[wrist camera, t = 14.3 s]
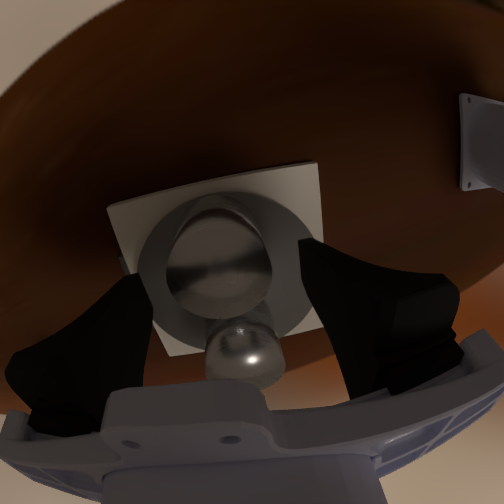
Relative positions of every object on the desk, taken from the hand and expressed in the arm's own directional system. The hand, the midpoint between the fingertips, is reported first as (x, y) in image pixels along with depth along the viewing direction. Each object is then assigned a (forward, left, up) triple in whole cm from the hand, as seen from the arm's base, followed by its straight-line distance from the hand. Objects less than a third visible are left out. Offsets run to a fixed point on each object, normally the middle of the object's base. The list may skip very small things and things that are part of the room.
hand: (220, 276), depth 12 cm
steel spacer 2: (0, +6, -4) cm, 7 cm away
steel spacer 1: (0, 0, -4) cm, 4 cm away
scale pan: (+1, +3, -5) cm, 6 cm away
